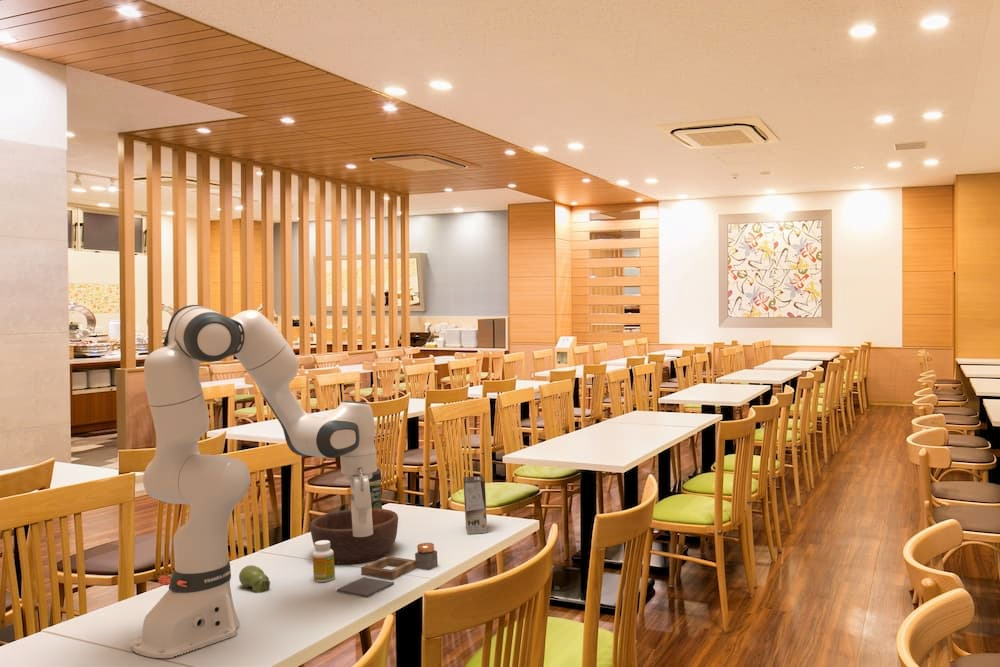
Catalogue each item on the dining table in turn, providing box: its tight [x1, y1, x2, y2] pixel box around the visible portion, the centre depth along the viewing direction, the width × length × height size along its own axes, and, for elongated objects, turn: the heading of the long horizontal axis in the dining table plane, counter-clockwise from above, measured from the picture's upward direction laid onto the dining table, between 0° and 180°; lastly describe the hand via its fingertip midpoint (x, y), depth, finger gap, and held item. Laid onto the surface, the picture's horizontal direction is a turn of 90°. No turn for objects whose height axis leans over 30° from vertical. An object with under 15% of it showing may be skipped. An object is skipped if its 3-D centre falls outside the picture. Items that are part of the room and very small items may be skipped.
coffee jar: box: [369, 468, 383, 509], centre depth 263 cm, size 10×8×19 cm
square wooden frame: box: [360, 550, 439, 581], centre depth 215 cm, size 14×14×4 cm
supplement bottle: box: [312, 540, 336, 583], centre depth 211 cm, size 5×5×10 cm
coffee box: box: [462, 475, 488, 535], centre depth 252 cm, size 9×6×16 cm
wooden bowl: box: [309, 508, 399, 564], centre depth 233 cm, size 25×25×10 cm
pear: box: [238, 565, 271, 593], centre depth 207 cm, size 6×5×10 cm
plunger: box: [416, 542, 435, 554], centre depth 217 cm, size 4×4×5 cm
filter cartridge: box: [350, 493, 373, 537], centre depth 202 cm, size 5×5×10 cm
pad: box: [336, 577, 395, 598], centre depth 202 cm, size 10×10×1 cm
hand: (362, 520), depth 202 cm, fingers closed on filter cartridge, 5 cm apart
